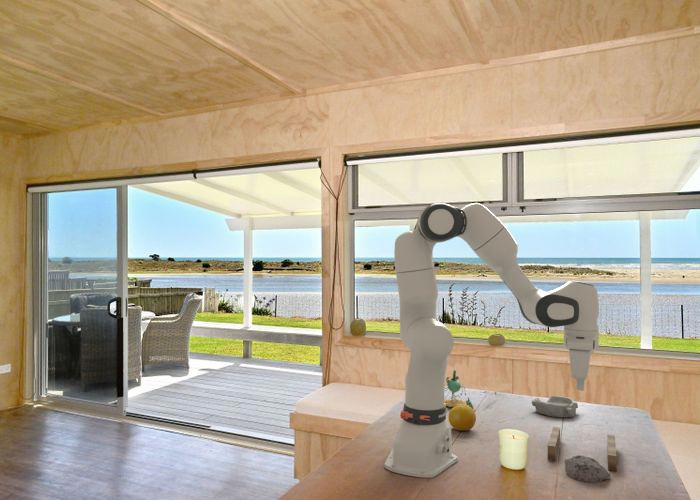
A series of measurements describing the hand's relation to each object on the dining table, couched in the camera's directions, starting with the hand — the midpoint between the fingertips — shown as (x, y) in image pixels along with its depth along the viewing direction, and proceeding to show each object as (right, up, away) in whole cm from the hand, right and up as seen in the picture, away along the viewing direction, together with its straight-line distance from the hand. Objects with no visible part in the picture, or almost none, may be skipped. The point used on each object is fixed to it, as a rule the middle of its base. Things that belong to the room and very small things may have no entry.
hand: (580, 389), depth 139 cm
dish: (+12, -22, +45) cm, 51 cm away
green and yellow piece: (-24, -22, +53) cm, 62 cm away
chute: (+3, -20, +5) cm, 21 cm away
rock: (-3, -20, -9) cm, 22 cm away
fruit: (-27, -21, +25) cm, 43 cm away
